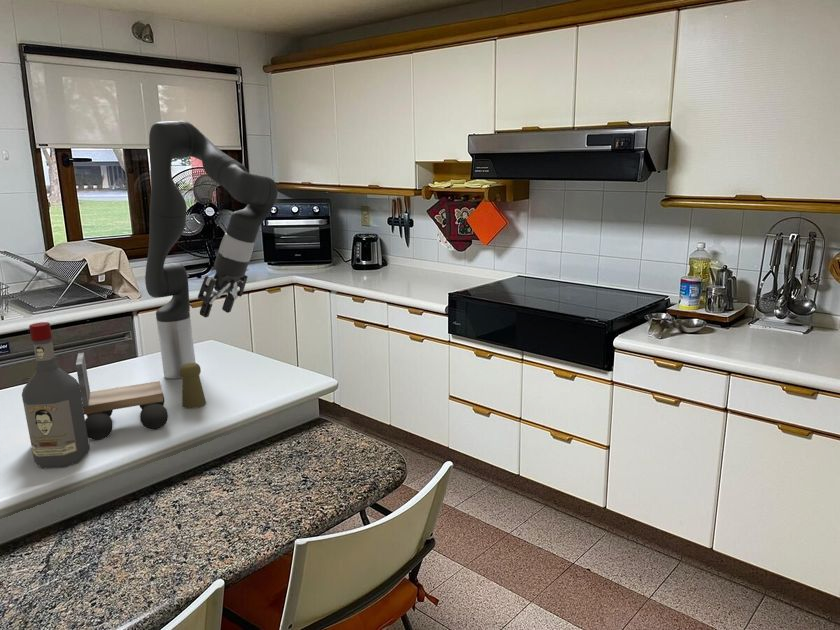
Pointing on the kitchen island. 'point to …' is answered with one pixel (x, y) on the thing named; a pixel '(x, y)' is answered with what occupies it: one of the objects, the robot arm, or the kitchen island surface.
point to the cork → (191, 386)
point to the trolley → (119, 403)
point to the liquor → (53, 407)
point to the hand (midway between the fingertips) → (215, 313)
